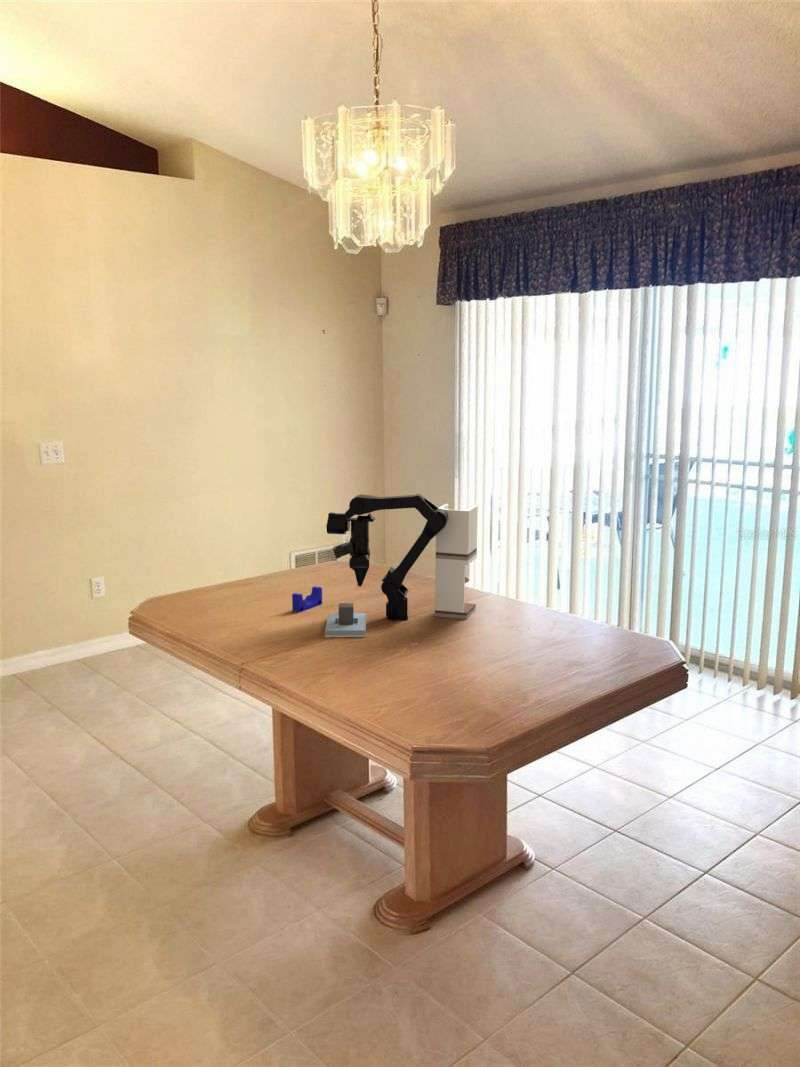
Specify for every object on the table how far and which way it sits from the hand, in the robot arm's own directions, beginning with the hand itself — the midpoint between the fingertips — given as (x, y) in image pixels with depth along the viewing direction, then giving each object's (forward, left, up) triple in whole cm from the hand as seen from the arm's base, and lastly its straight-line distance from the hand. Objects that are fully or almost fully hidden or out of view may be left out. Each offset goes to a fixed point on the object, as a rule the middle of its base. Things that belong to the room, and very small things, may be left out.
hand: (360, 582), depth 279 cm
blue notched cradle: (+18, -10, -11) cm, 24 cm away
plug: (+4, +13, -11) cm, 17 cm away
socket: (+4, +13, -11) cm, 17 cm away
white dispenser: (-31, -3, -11) cm, 33 cm away
